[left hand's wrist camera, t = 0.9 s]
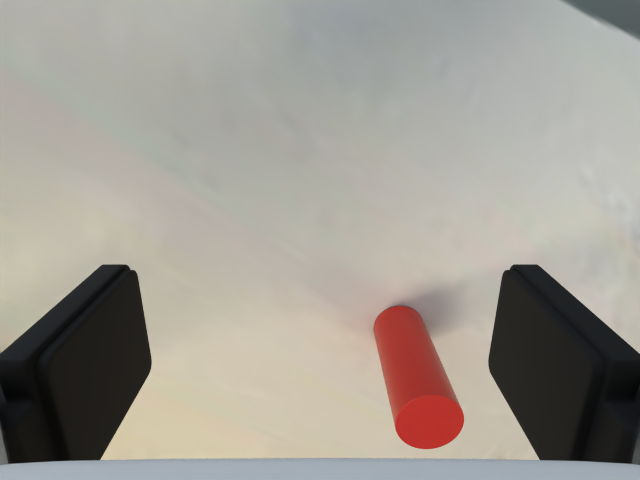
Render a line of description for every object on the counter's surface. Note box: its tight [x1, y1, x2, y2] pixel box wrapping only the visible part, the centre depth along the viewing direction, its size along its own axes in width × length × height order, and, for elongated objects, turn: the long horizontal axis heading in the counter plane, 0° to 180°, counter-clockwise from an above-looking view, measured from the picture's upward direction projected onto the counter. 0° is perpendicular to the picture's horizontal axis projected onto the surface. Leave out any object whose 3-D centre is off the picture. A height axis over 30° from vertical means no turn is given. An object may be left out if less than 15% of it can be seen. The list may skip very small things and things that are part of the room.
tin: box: [374, 306, 464, 449], centre depth 36 cm, size 5×5×12 cm
